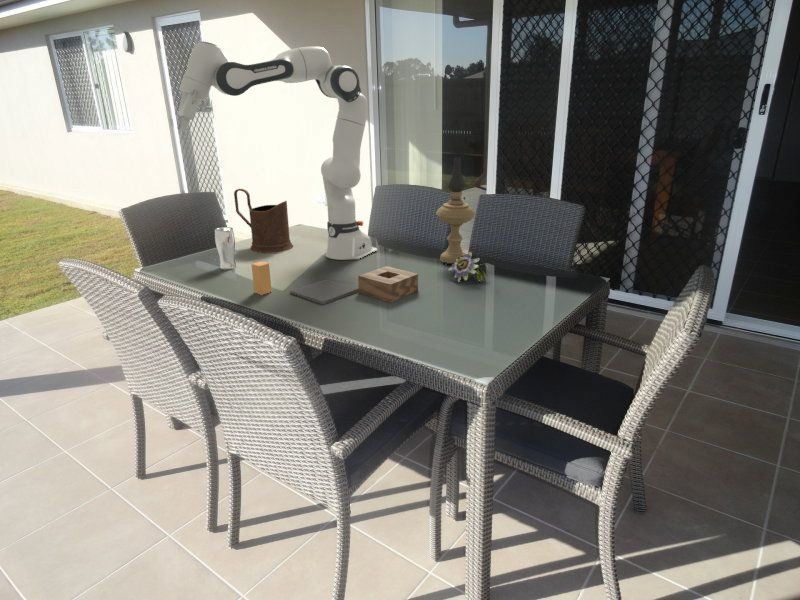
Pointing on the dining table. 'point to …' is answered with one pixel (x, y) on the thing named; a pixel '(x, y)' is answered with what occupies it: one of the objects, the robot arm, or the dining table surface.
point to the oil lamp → (455, 214)
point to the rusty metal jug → (267, 226)
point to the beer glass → (225, 247)
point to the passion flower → (467, 267)
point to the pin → (261, 277)
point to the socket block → (388, 283)
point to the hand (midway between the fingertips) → (180, 130)
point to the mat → (324, 291)
